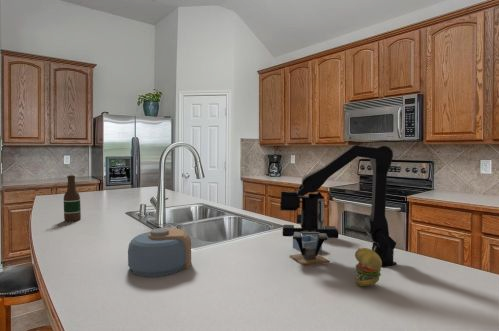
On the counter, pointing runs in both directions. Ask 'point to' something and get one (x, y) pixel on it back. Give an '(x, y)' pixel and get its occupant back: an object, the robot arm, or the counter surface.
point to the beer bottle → (72, 201)
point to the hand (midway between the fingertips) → (309, 255)
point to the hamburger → (367, 267)
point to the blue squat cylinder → (159, 252)
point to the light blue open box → (306, 242)
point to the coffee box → (320, 216)
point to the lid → (309, 257)
